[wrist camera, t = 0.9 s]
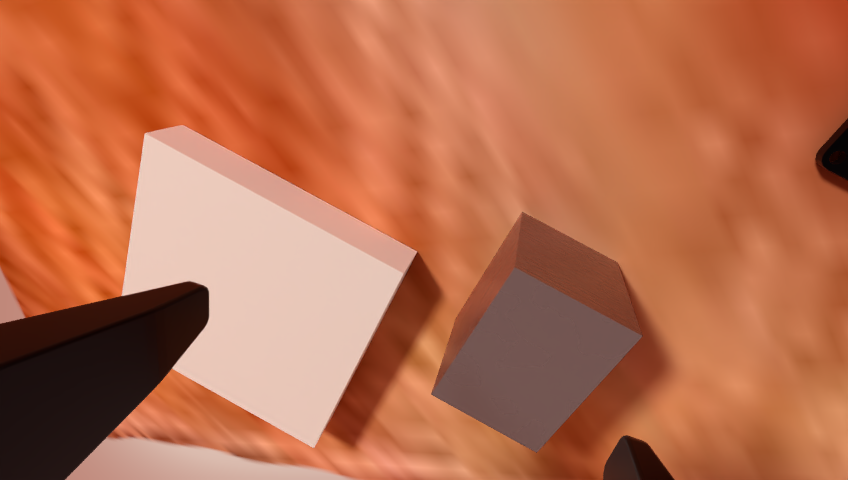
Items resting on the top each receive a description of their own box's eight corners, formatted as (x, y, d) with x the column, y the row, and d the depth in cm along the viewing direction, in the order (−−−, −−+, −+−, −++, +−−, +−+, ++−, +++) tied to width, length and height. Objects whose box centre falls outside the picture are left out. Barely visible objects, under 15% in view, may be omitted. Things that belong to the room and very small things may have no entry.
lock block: (617, 261, 21) (642, 335, 15) (538, 362, 24) (536, 452, 19) (522, 211, 21) (514, 267, 16) (456, 317, 24) (431, 394, 19)
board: (417, 251, 23) (403, 273, 21) (331, 417, 29) (313, 448, 27) (182, 124, 23) (144, 133, 21) (148, 315, 30) (116, 337, 28)
